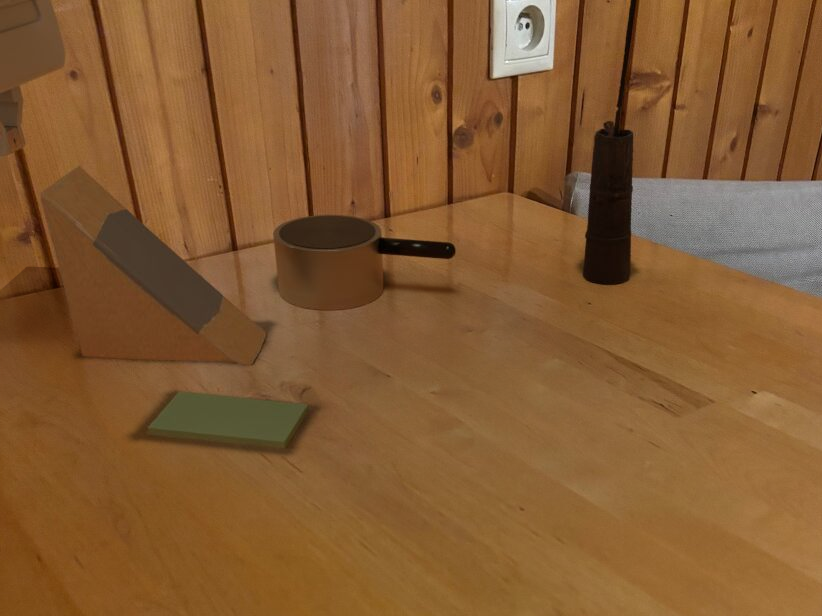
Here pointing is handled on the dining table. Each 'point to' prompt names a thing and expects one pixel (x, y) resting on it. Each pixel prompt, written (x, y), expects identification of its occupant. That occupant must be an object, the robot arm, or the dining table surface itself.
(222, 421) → the green rectangular slab
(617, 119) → the butter churn
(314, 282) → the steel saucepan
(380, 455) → the dining table surface
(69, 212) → the sandwich container
